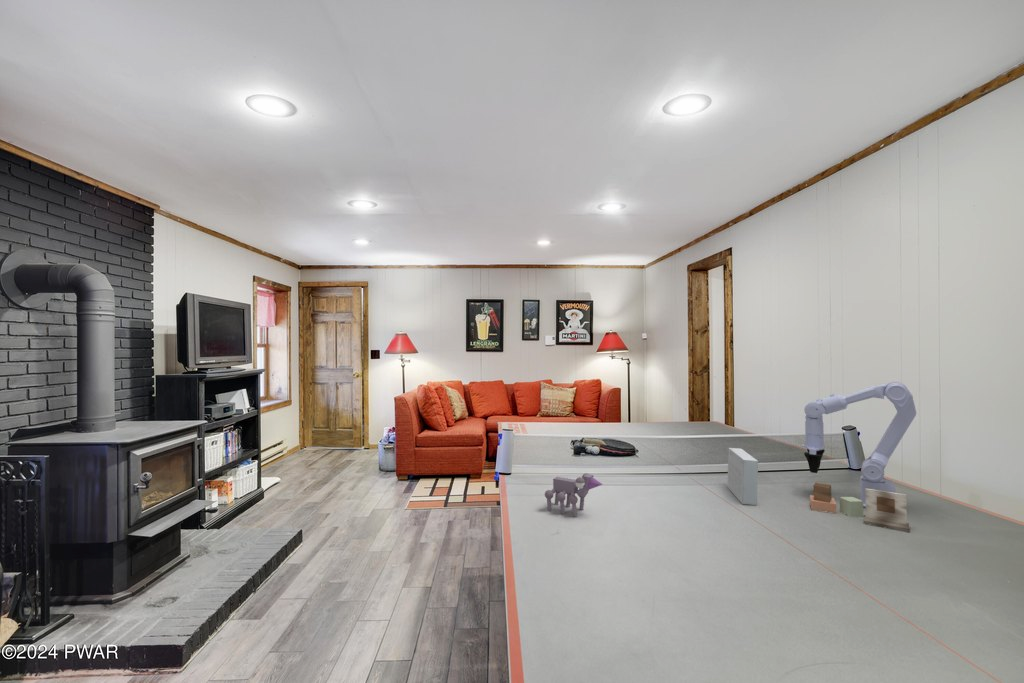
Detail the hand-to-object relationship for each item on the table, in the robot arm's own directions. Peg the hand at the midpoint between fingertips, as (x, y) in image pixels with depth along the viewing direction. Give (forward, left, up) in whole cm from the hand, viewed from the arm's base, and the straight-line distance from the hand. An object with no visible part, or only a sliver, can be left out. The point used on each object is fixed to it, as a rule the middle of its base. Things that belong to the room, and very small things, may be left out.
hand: (814, 470), depth 173 cm
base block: (+2, +15, -10) cm, 18 cm away
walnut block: (+2, +15, -6) cm, 17 cm away
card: (-12, +26, -9) cm, 30 cm away
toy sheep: (+83, +43, -10) cm, 94 cm away
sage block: (-5, +18, -10) cm, 21 cm away
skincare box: (+26, +8, -10) cm, 29 cm away
